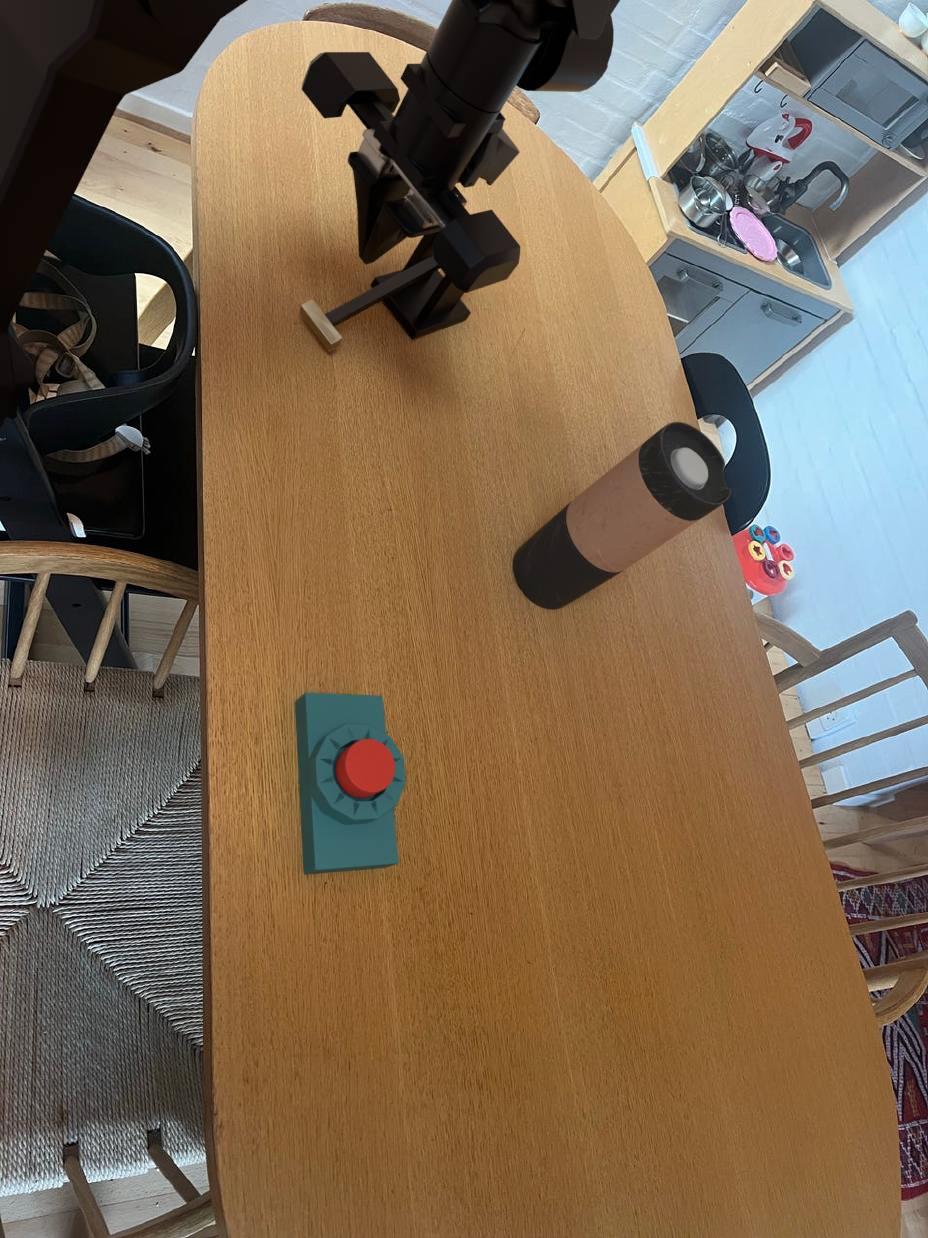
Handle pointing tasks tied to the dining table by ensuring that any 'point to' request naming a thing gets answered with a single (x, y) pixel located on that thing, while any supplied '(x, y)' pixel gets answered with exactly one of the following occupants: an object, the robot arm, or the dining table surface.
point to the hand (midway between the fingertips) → (365, 260)
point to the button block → (329, 815)
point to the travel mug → (623, 516)
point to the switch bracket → (425, 297)
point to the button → (365, 768)
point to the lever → (361, 303)
